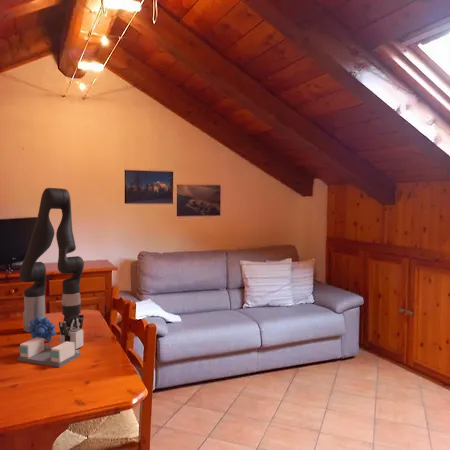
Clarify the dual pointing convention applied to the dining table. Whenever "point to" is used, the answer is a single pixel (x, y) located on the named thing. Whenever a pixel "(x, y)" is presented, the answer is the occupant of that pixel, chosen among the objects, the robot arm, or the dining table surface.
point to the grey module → (74, 337)
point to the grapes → (42, 328)
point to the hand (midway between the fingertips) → (71, 341)
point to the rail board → (47, 353)
